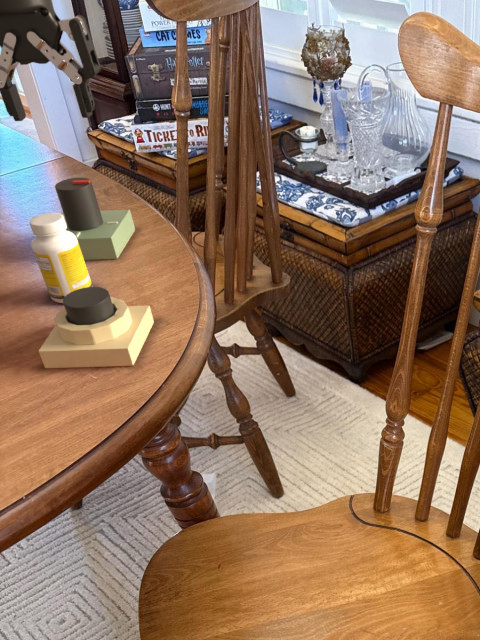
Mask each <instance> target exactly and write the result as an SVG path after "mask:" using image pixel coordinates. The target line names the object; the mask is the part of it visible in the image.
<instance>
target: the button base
mask: <svg viewBox="0 0 480 640" xmlns="http://www.w3.org/2000/svg"><path fill="white" fill-rule="evenodd" d="M110 298H111V301H112V304H113V308H114V311H115V314H114V316H112V317H110V318H109V319H107V320H105V321H103V322H100V323H96V324H92V325H75V324H72V323H71V322H70V321H69V318H68V315H67V312H66V309H65V307H64V306H63V307H62V308H60V309H59V311H58V312H57V314H56V315H55V316H54V318H53V320H54V323H55V326H54V327H53V329H52V330H51V331H50V333H49V335H48V336H47V338H46V339H45V341H44V342H43V343H42V345H41V347H40V348H39V349H38V354H39V356H40V359H41V362H42V364H43V367H44V369H68V368H69V369H70V368H102V367H105V368H106V367H133V366H134V365H135V363H136V361H137V359H138V357H139V355H140V353H141V351H142V348H143V346H144V345H145V342H146V340H147V338H148V336H149V333H150V331H151V330H152V327H153V325H154V323H155V321H154V316H153V313H152V309H151V307H150V305H127V303H126V302H125V301H124V300H123V299H119V298H117V297H113V296H110Z"/></svg>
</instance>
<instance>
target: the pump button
mask: <svg viewBox="0 0 480 640" xmlns="http://www.w3.org/2000/svg"><path fill="white" fill-rule="evenodd" d="M110 297H111V296H110V293H109V290H108V289H106V288H104V287H100V286H93V287H87V288H82V289H78V290H75V291H73V292H71V293H69V294H68V295H66V296H65V297H64V299H63V303H62V304H63V308H64V307H65V309H66V312H67V315H68V318H69V321H70V322H71V323H72V324H75V325H92V324H96V323H100V322H103V321H105V320H107V319H109V318H110V317H112V316H114V314H115V311H114V308H113V304H112V301H111V298H110Z"/></svg>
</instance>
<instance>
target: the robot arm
mask: <svg viewBox="0 0 480 640" xmlns="http://www.w3.org/2000/svg"><path fill="white" fill-rule="evenodd" d="M53 4H54V3H53V0H0V48H1V50H0V96H1V98H2V102H3V104H4V107H5V109H6V113H7V114H8V115H9V117H12V118H13V120H14V122H23V121H24V120H25V119H26V117H27V114H26V110H25V108H24V104H23V102H22V99H21V96H20V93H19V90H18V88H17V84H16V83H13V78H14V75H15V72H16V69H17V67H18V65H19V64H20V66H26V65H29V64H32V63H34V64H38V65H45V64H48V63H49V62H50V63H52V65H54V67H55V68H56V69H58V70H60V71H61V72H63V73H64V74H65V75H66V76H67V77H68V78H69V79H70V80H71V82H73V83H74V84H72V88H73V92H74V94H75V95H74V96H75V99H76V102H77V105H78V108H79V112H80V115H81V117H82V118H83V119H87V118H91V116H93V111H95V109H96V104H95V100H94V96H93V93H92V89H91V86H90V79H93V78H94V77H95V76H96V75H98V74H99V73H100V72H101V70H102V67H101V64H100V61H99V58H98V55H97V51H96V48H95V45H94V42H93V39H92V36H91V33H90V29H89V26H88V24H87V20H86V18H85V17H84V16H83V15H81V14H78V15H76V16H74V17H71V18H64V19H61V18H60V17H59V16H58V14H57V12H56V11H55V9H54V5H53ZM64 33H66V35H67V36H68V38H69V39H70V40H71V41H73V42H74V44H75V47H76V51H77V53H78V56H79V60H80V62H81V63H79V61H78V60H77V59H76V58H75V56H74V54H73V53H72V52H71V51H70V50H69V48H67V47H66V46H65V44H63V42H62V41H61V39H62V36H63V34H64Z"/></svg>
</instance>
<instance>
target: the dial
mask: <svg viewBox="0 0 480 640" xmlns="http://www.w3.org/2000/svg"><path fill="white" fill-rule="evenodd" d="M54 189H55V192H56V196H57V198H58V201H59V204H60V207H61V210H62V212H63V213H64V216H65V219H66V222H67V225H68V228H69V229H71V230H76V231H83V230H89V229H93V228H96V227H98V226H100V225H101V224H102V223H103V219H102V216H101V212H100V211H101V209H100V206H99V203H98V199H97V196H96V192H95V188H94V186H93V182H92V180H91V179H90V178H87V177H71V178H66V179H63V180H61V181H58V182H57V183H56V184H54Z"/></svg>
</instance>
